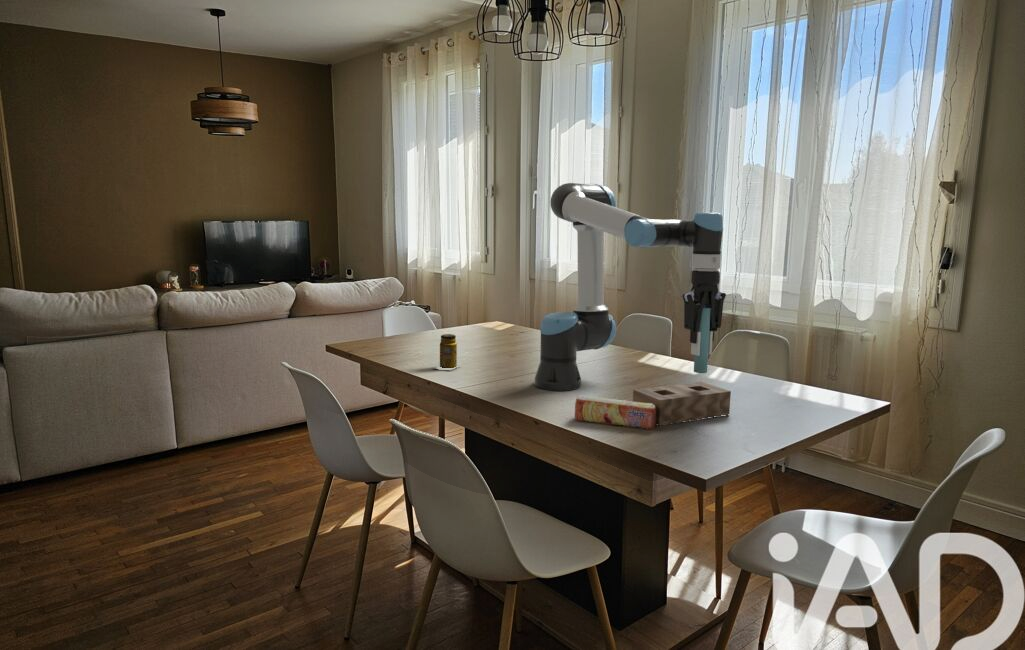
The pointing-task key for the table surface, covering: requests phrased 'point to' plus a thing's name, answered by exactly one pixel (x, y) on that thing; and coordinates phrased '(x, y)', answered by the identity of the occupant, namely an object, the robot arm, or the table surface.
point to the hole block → (685, 401)
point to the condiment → (448, 351)
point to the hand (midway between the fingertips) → (701, 354)
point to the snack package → (615, 412)
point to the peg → (703, 342)
